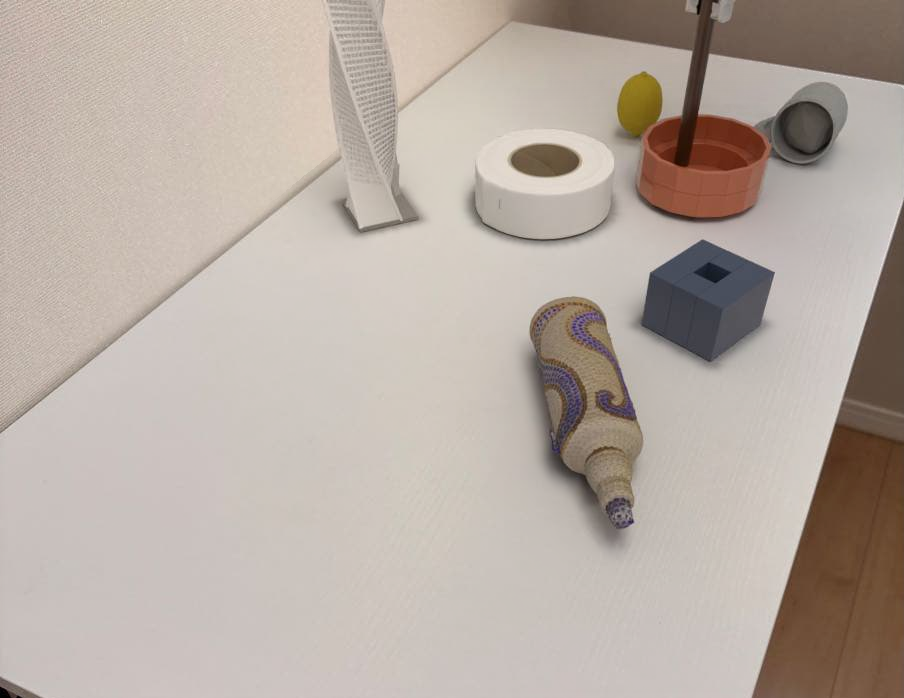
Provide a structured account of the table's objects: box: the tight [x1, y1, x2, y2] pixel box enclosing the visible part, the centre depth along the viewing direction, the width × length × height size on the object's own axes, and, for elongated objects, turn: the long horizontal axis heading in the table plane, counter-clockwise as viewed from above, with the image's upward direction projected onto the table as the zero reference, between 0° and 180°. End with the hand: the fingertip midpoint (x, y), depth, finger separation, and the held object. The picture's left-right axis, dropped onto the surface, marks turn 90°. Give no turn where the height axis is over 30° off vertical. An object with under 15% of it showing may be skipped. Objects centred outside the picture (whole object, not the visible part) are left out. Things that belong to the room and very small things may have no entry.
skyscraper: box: [321, 0, 419, 233], centre depth 98 cm, size 8×8×28 cm
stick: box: [674, 0, 716, 167], centre depth 103 cm, size 2×2×20 cm
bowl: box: [635, 113, 773, 219], centre depth 109 cm, size 14×14×6 cm
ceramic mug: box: [752, 81, 849, 165], centre depth 115 cm, size 11×8×8 cm
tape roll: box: [474, 128, 616, 240], centre depth 107 cm, size 16×16×6 cm
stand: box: [641, 238, 776, 363], centre depth 91 cm, size 8×8×6 cm
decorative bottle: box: [529, 295, 644, 530], centre depth 80 cm, size 26×8×7 cm, turn 5°
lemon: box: [616, 70, 664, 138], centre depth 117 cm, size 6×6×8 cm
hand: (707, 16), depth 98 cm, fingers closed on stick, 2 cm apart
